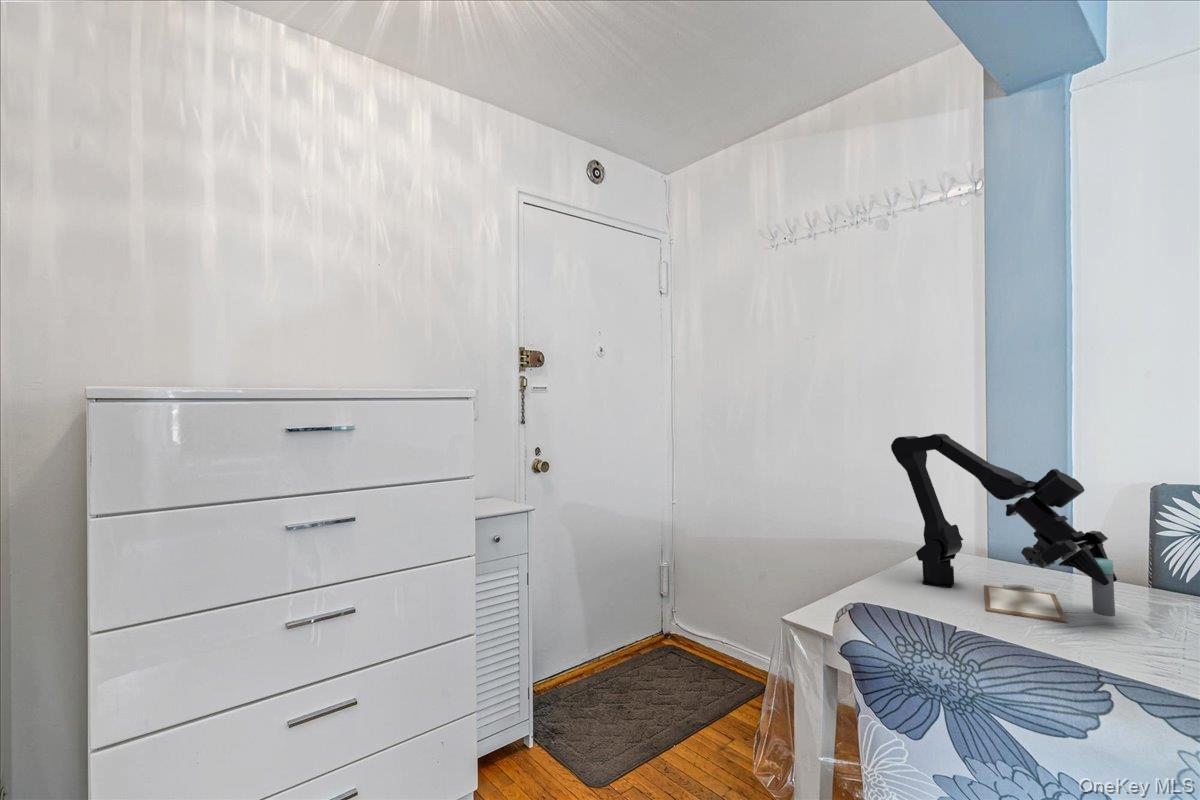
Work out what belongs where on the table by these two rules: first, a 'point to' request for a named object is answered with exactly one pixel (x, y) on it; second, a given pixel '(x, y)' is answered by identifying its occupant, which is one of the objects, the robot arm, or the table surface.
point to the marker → (1104, 590)
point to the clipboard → (1023, 602)
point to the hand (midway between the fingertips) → (1111, 582)
